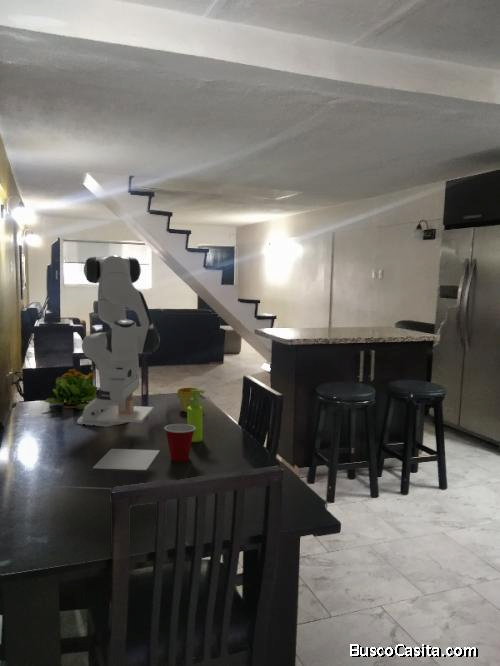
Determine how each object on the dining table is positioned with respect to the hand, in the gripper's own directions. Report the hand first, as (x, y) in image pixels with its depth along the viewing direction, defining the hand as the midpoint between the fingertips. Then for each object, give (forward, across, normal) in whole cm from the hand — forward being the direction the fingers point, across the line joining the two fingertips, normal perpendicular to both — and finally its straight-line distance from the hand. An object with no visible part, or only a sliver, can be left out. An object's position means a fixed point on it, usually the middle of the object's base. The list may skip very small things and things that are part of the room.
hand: (126, 407), depth 171 cm
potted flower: (+20, -63, -48) cm, 82 cm away
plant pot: (+20, -62, +9) cm, 66 cm away
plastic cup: (+19, -2, +18) cm, 26 cm away
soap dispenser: (+19, -22, +20) cm, 35 cm away
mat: (+19, 0, 0) cm, 19 cm away
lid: (+2, 0, 0) cm, 2 cm away
